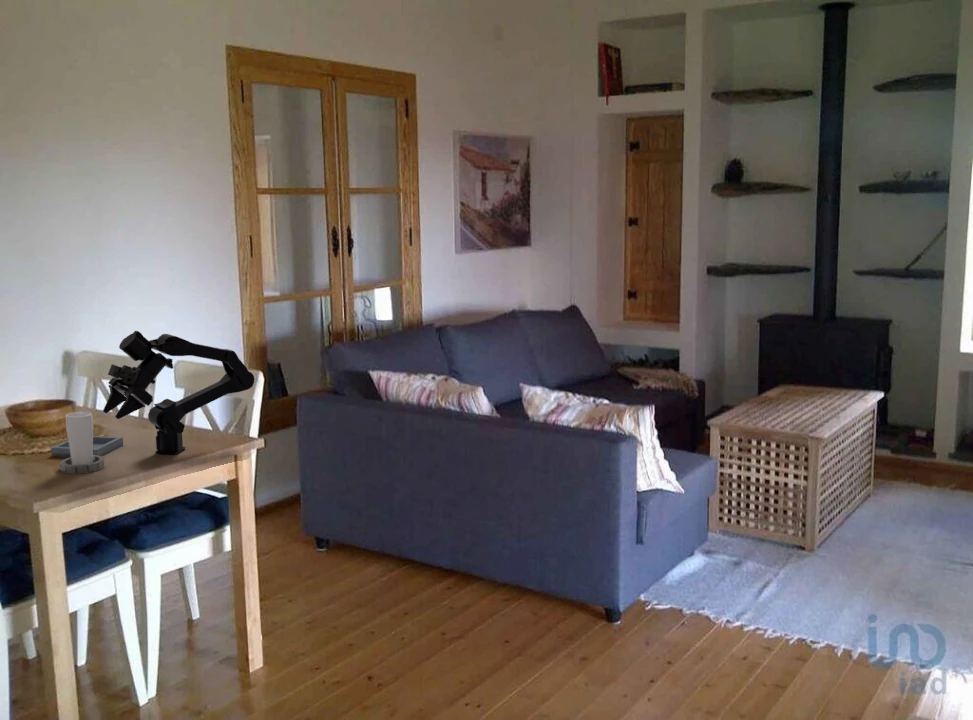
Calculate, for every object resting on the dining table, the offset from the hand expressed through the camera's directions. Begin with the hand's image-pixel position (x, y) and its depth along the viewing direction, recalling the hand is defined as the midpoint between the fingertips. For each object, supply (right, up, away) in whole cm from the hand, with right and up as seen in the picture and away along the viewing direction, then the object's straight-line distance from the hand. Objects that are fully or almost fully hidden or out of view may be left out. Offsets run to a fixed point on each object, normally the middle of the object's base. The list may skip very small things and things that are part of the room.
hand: (110, 415), depth 262 cm
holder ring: (-6, -14, -3) cm, 16 cm away
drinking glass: (-6, -14, -3) cm, 16 cm away
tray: (-12, -11, +14) cm, 21 cm away
